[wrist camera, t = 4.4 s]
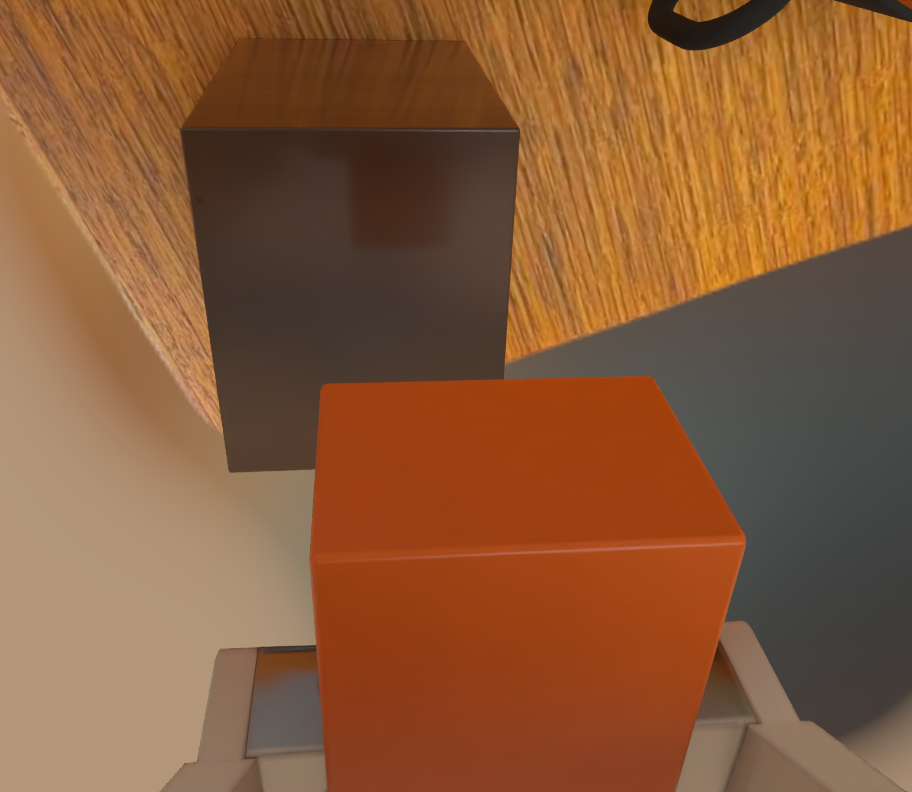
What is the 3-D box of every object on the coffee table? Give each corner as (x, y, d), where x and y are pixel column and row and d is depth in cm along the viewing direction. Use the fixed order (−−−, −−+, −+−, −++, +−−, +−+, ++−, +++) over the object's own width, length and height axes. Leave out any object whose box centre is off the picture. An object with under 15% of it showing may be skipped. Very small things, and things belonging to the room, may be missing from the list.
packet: (320, 380, 10) (307, 558, 7) (653, 372, 10) (751, 539, 8) (344, 793, 14) (342, 996, 12) (580, 775, 14) (627, 967, 12)
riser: (239, 37, 30) (178, 127, 20) (466, 40, 30) (520, 128, 20) (265, 297, 35) (228, 473, 25) (457, 294, 36) (498, 463, 26)
